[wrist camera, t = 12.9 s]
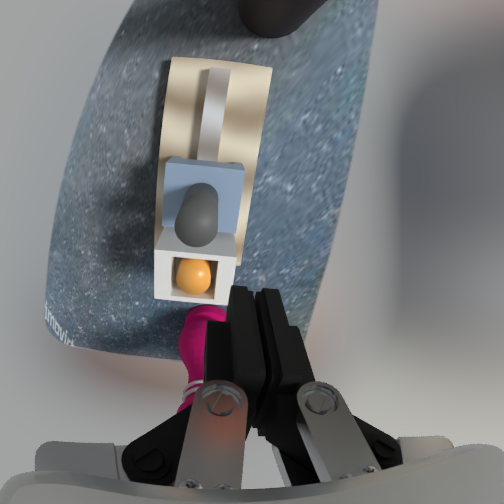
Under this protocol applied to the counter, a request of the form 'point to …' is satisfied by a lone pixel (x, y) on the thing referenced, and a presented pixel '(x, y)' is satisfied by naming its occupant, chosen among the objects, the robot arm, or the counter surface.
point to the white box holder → (174, 249)
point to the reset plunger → (194, 275)
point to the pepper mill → (195, 347)
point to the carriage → (201, 198)
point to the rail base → (214, 123)
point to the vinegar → (276, 15)
